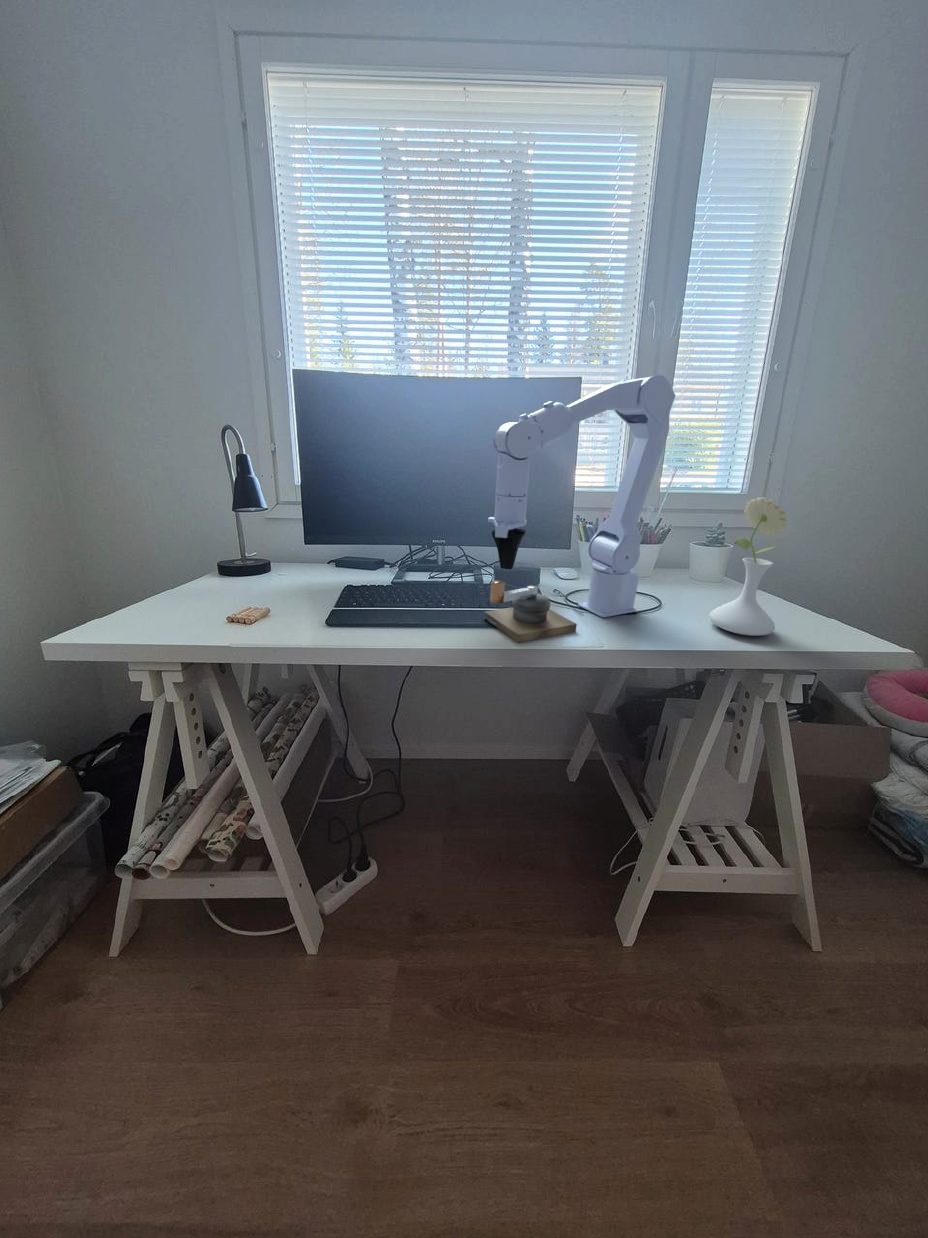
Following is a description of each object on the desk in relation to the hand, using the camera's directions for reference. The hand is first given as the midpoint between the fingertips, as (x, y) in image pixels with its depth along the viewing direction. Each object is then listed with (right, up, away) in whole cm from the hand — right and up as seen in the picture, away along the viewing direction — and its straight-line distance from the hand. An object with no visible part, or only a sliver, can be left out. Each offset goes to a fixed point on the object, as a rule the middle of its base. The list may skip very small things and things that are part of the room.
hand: (506, 568), depth 89 cm
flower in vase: (+46, -12, +4) cm, 47 cm away
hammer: (+1, -6, -3) cm, 7 cm away
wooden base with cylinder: (+4, -11, +1) cm, 12 cm away
